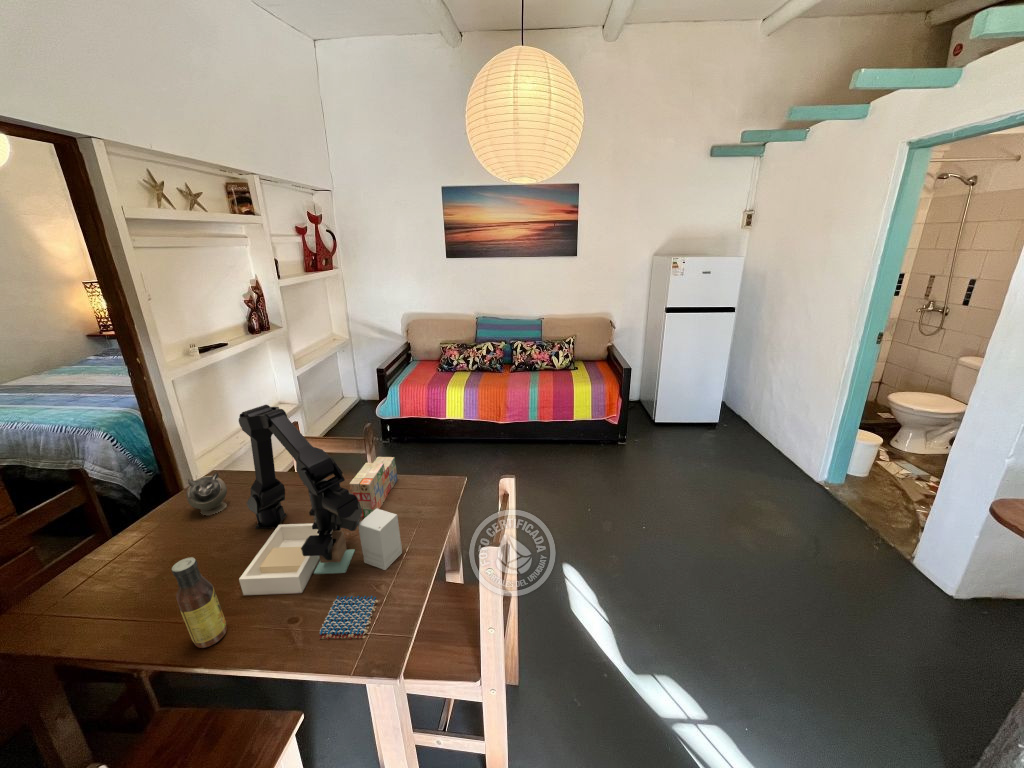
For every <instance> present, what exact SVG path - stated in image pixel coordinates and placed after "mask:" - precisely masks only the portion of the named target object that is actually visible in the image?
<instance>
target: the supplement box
mask: <svg viewBox="0 0 1024 768" xmlns="http://www.w3.org/2000/svg"><path fill="white" fill-rule="evenodd" d="M398 517H399V516H398V514H397V513H393V512H389V511H387V510H383V509H381V508H380V509H377V508H376V509H375V510H374V511H373V512H371V513H370V514H369V515H368V516H367V517H363V519H362V520H360V522H359V523H358V526H357V528H358V532H359V533H358V535H359V539H360V544H361V551H362V556H363V562H364V564H367V565H370V566H372V567H375V568H378V569H380V570H384V571H386V570H387V569H388V568H389V567H390V566H391V565H392V564H393V563H394V562H396V560H397V559H398V558H399V557H400V556H401V554H402V553H403V550H402V549H403V548H402V540H401V532H400V527H399V526H400V525H399V518H398Z"/></svg>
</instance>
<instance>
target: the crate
mask: <svg viewBox="0 0 1024 768" xmlns="http://www.w3.org/2000/svg"><path fill="white" fill-rule="evenodd" d="M313 523H314V522H313ZM313 523H289V524H288V523H287V524H284V523H283V524H282V523H281V524H280V525H278V527H277V528H274V529H275V530H274V531H273V532H272V534H271V535H269V537H268V539H267V540H266V541H265V542H264V545H263V546H262V547H261V548H260V550H259V551H258V552H257V553H256V555H255V556H254V558H253V559H252V561H251V562H250V564H249V565H248V566H247V567H246V569H245V570H244V572H243V573H242V575H240V577H239V578H238V581H239V584H240V588H241V592H242V595H243V596H260V595H263V596H264V595H284V594H302V593H303V592H304V591H305V589H306V586H307V585H308V584H309V582H310V579H311V577H312V575H313V574H314V571H315V569H316V567H317V565H318V564H319V562H320V557H319V556H303V555H302V551H301V548H302V546H303V544H304V543H305V541H306V539H307V538H308V537H309V536H312V535H319V534H317V531H318V529H312V525H313Z"/></svg>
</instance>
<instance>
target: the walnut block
mask: <svg viewBox="0 0 1024 768" xmlns="http://www.w3.org/2000/svg"><path fill="white" fill-rule="evenodd" d="M331 534H332V539H336V541H335V543H334V545H333V547H332V560H327V559H325V558H324V557H323V556H322V555H320V556H319V557H320V560H319V562H321V563H329V562H341V559H342V557H343V555H344V553H345V551H346V550H348V549H347V544H346V543H347V542H346V538H345V533H344V529H343V530H342V529H341V530H337V531H332V532H331Z"/></svg>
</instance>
